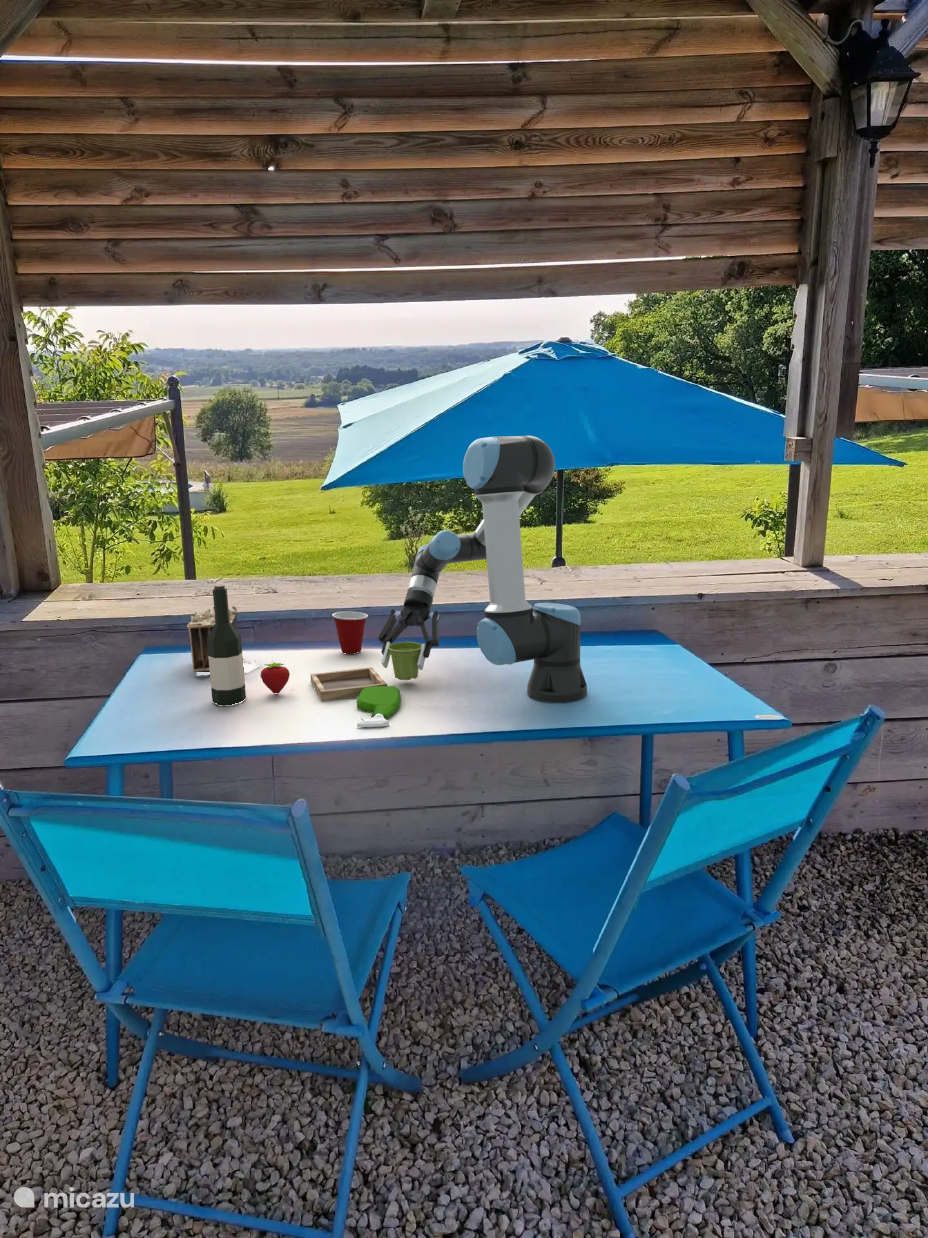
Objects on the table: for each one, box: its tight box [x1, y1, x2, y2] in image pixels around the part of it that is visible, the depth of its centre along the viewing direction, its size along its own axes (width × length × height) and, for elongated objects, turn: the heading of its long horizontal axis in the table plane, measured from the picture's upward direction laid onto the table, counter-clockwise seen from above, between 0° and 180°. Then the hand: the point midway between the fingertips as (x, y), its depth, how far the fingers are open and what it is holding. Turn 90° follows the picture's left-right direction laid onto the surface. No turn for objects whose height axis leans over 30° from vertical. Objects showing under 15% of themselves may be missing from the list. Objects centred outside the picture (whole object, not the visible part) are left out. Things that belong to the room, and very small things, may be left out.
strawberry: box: [260, 661, 291, 694], centre depth 230 cm, size 6×8×10 cm
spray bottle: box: [356, 685, 402, 728], centre depth 216 cm, size 3×11×24 cm
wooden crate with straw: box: [186, 605, 239, 673], centre depth 255 cm, size 25×25×19 cm
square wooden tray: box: [310, 666, 388, 702], centre depth 235 cm, size 17×17×2 cm
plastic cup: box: [331, 611, 369, 655], centre depth 269 cm, size 11×11×12 cm
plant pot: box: [388, 641, 423, 681], centre depth 237 cm, size 9×9×9 cm
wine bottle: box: [207, 584, 247, 705], centre depth 223 cm, size 8×8×30 cm
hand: (401, 666), depth 234 cm, fingers closed on plant pot, 9 cm apart
